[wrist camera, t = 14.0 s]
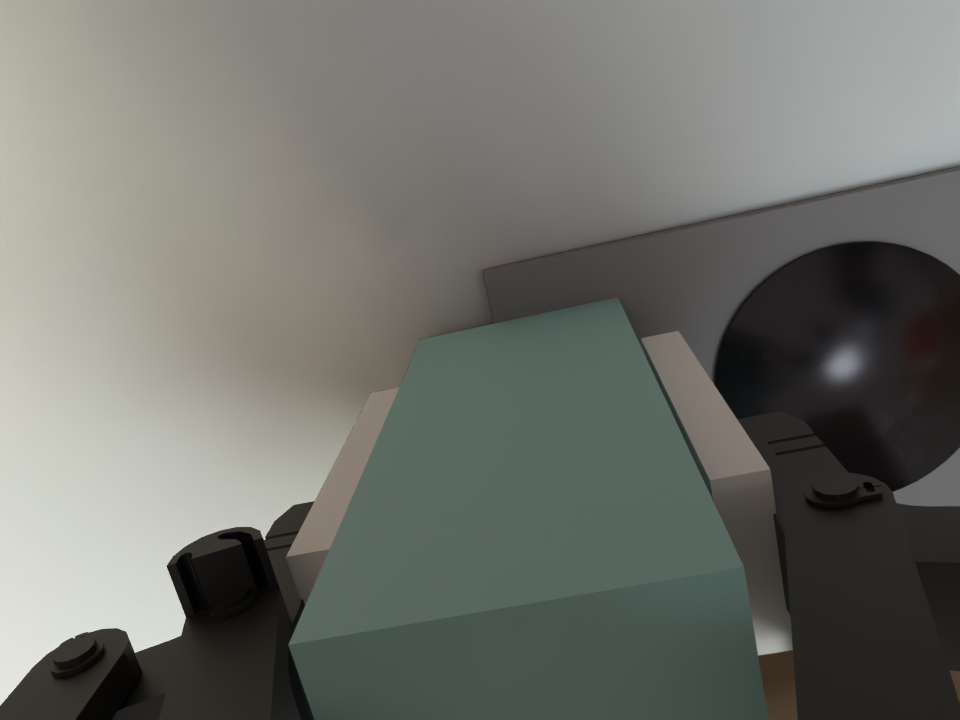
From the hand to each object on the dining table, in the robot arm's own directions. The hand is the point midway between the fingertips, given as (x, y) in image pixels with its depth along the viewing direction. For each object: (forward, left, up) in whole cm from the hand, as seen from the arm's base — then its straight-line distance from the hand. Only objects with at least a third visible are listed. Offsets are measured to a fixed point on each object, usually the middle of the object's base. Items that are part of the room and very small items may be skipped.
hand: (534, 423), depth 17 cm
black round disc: (+1, +7, -2) cm, 7 cm away
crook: (+8, +4, -2) cm, 9 cm away
